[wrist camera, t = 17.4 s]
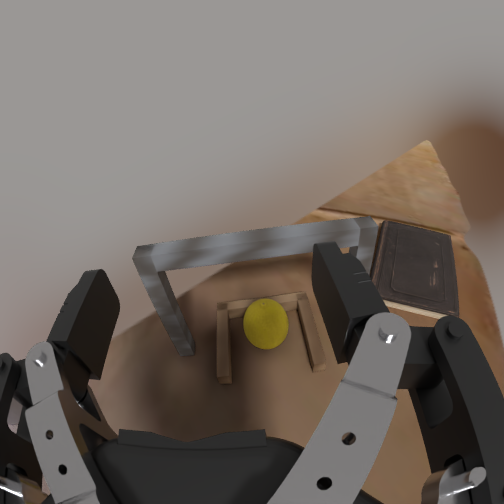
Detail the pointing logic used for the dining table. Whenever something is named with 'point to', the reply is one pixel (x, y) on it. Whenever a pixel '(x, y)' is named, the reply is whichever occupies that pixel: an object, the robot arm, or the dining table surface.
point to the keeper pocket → (242, 249)
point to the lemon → (265, 324)
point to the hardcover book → (416, 270)
